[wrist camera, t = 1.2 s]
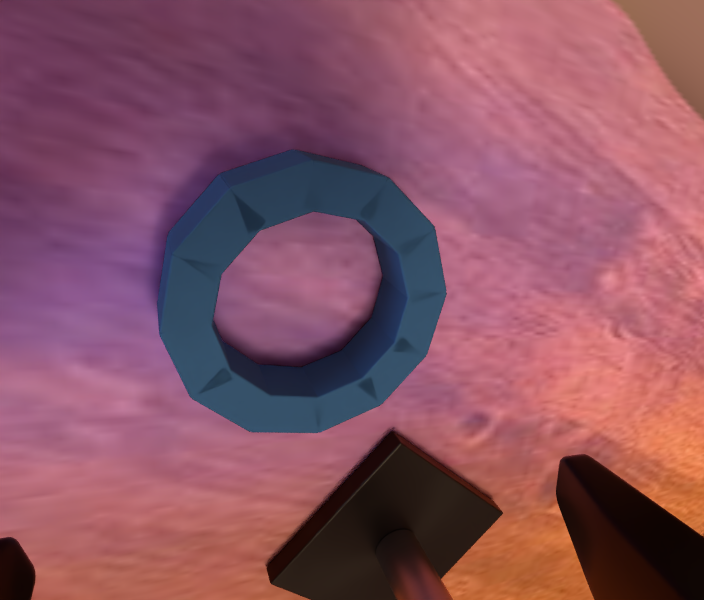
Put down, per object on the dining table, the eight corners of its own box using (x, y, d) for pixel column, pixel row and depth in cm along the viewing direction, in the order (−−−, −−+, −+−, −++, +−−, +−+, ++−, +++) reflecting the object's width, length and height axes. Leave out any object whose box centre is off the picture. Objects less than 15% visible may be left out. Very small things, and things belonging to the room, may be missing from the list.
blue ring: (303, 436, 23) (319, 472, 21) (98, 312, 18) (93, 343, 16) (459, 266, 23) (490, 286, 21) (291, 90, 18) (310, 93, 16)
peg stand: (384, 615, 30) (458, 781, 23) (265, 567, 26) (312, 754, 19) (493, 500, 30) (602, 634, 23) (391, 429, 25) (489, 570, 18)
